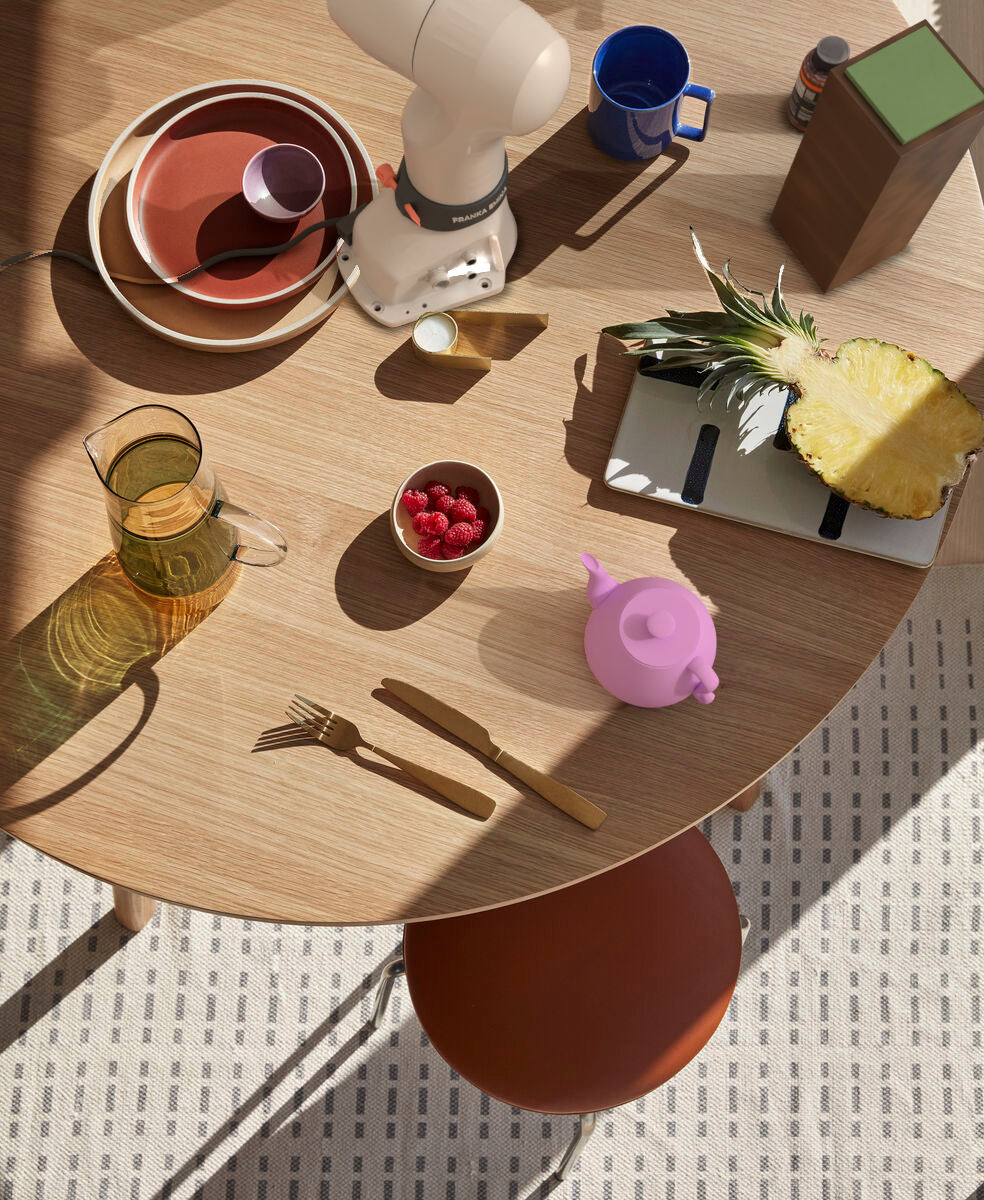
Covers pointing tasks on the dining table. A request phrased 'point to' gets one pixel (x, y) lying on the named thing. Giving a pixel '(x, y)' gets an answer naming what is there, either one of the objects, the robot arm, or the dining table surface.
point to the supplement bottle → (815, 78)
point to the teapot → (648, 639)
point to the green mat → (914, 85)
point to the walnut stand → (864, 178)
